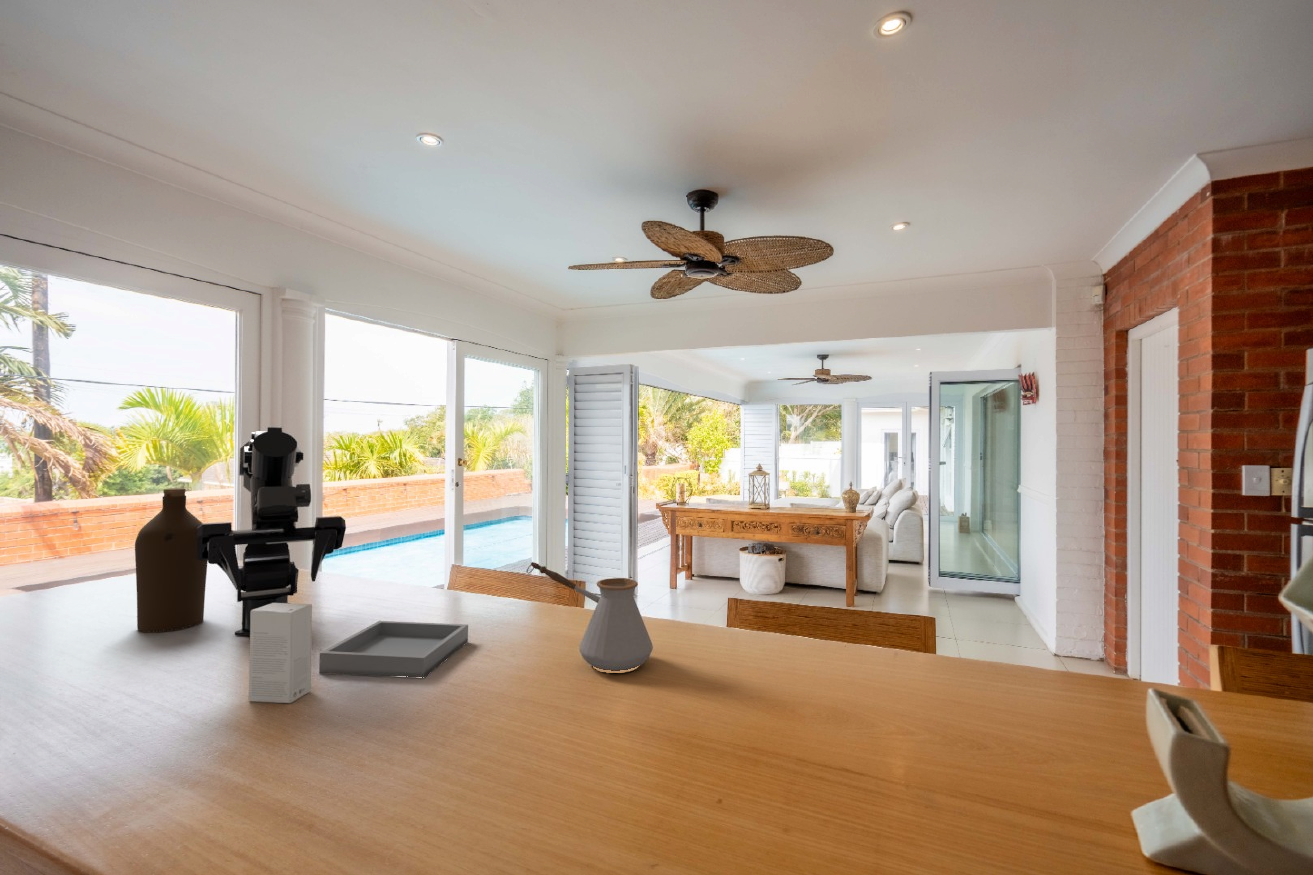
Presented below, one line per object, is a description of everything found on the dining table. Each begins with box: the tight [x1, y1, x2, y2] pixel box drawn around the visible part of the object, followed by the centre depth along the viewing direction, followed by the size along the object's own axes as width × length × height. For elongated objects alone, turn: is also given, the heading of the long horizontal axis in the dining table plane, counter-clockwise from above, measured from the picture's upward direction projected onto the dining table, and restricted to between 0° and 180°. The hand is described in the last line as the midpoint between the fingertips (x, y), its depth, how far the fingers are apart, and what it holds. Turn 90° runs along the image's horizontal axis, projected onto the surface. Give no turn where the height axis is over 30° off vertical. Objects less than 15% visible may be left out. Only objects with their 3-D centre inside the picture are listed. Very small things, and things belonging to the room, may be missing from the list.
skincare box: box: [248, 602, 313, 704], centre depth 79 cm, size 6×4×12 cm
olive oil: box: [134, 487, 208, 633], centre depth 109 cm, size 11×11×25 cm
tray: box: [318, 620, 469, 678], centre depth 95 cm, size 16×16×3 cm
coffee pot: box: [526, 561, 654, 671], centre depth 94 cm, size 21×12×15 cm, turn 73°
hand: (277, 583), depth 85 cm, fingers open, 9 cm apart
